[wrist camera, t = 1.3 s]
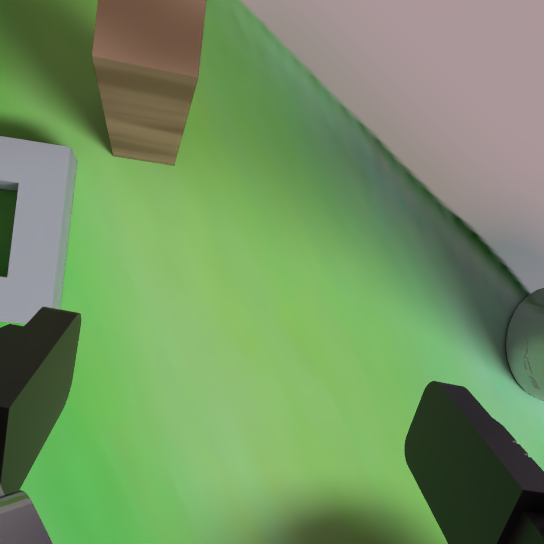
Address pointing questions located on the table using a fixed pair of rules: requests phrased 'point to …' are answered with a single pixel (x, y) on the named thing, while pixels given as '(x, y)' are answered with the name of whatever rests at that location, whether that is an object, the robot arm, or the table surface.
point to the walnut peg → (147, 73)
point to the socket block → (36, 225)
